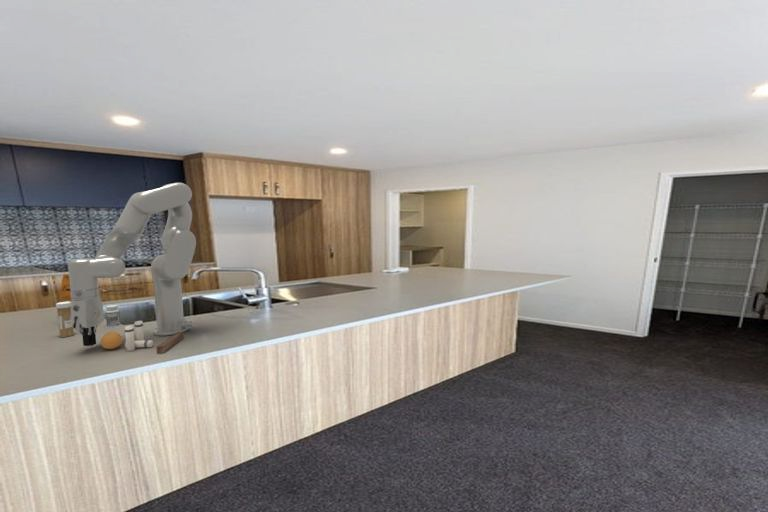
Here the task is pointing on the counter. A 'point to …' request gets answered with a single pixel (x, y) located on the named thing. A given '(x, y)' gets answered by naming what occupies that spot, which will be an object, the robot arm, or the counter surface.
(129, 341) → the pin
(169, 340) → the brown wooden bar
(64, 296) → the coffee package
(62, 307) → the sprinkles bottle
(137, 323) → the pin
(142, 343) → the front pin
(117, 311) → the pill bottle
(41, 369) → the counter surface
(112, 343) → the ball
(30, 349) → the counter surface
